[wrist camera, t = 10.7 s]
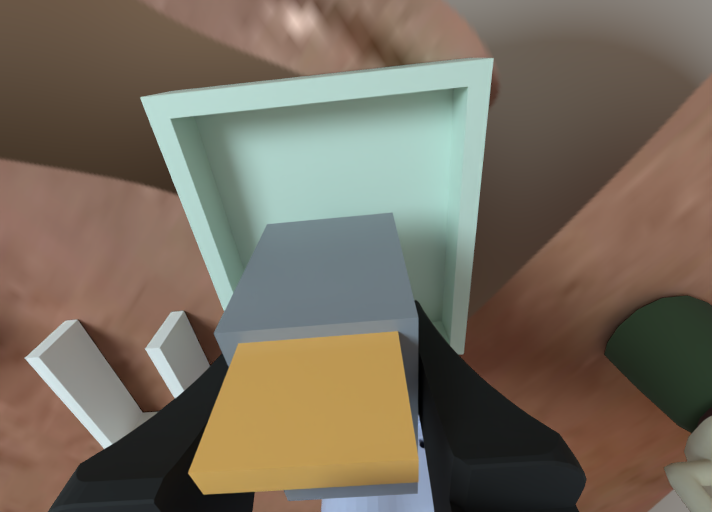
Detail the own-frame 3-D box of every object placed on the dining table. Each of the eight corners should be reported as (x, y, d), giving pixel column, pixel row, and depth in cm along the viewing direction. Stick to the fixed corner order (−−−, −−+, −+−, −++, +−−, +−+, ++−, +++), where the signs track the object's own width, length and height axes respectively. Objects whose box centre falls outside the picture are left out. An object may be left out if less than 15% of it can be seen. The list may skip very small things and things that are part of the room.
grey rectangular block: (392, 212, 13) (450, 444, 5) (398, 366, 18) (434, 605, 10) (267, 223, 13) (149, 463, 6) (306, 372, 18) (272, 612, 10)
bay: (183, 310, 20) (126, 396, 15) (232, 412, 26) (202, 502, 21) (65, 320, 21) (-30, 408, 16) (137, 419, 26) (84, 509, 21)
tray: (471, 57, 14) (493, 58, 11) (452, 323, 21) (463, 354, 19) (172, 91, 14) (140, 97, 12) (257, 339, 22) (247, 370, 19)
